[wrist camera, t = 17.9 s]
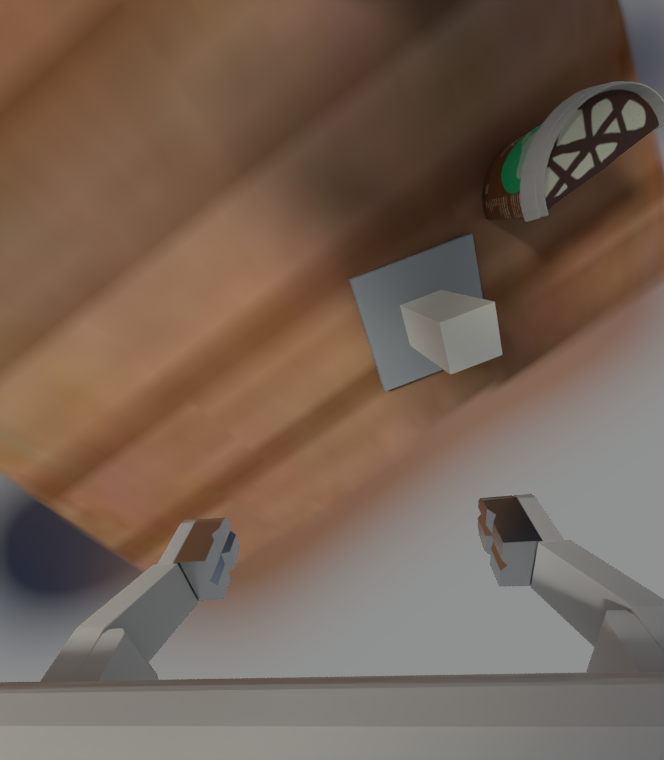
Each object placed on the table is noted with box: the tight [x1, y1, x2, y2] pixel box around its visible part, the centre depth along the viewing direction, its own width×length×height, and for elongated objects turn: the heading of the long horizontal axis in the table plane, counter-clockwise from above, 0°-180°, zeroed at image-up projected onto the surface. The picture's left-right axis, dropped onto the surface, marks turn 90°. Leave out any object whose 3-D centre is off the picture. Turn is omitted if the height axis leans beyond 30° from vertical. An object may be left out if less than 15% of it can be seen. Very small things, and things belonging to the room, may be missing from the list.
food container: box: [482, 81, 664, 222], centre depth 30 cm, size 12×6×10 cm, turn 127°
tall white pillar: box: [400, 290, 502, 375], centre depth 33 cm, size 5×5×10 cm
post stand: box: [349, 234, 483, 392], centre depth 35 cm, size 14×14×8 cm
